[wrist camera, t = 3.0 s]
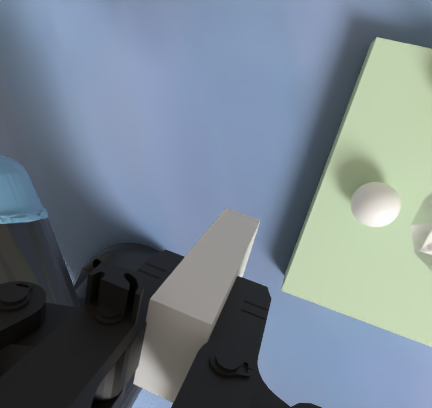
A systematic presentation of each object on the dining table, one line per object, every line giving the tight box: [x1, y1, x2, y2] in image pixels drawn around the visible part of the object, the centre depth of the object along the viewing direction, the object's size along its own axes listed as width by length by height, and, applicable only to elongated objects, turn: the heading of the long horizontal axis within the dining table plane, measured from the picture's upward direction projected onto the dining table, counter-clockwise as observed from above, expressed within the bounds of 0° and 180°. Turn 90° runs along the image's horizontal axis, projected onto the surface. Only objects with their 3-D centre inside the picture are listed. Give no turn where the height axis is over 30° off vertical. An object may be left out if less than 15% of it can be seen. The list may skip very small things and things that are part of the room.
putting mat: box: [281, 37, 432, 347], centre depth 26 cm, size 17×22×3 cm
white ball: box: [351, 182, 401, 227], centre depth 24 cm, size 3×3×3 cm
